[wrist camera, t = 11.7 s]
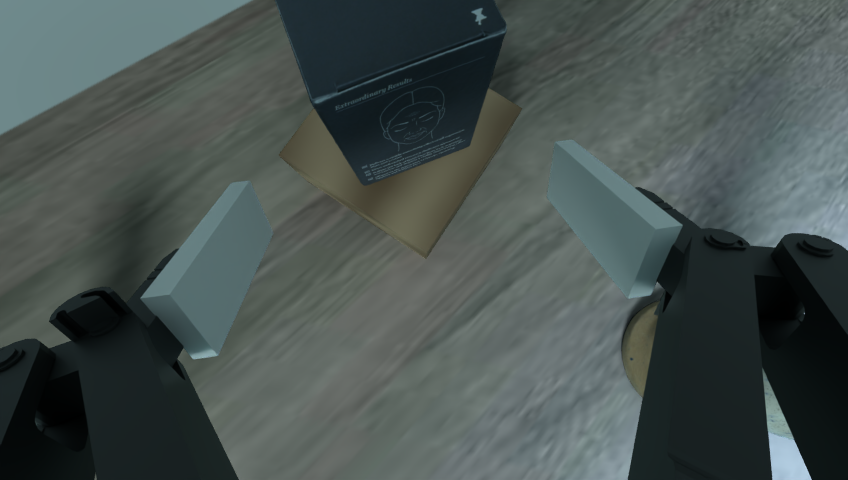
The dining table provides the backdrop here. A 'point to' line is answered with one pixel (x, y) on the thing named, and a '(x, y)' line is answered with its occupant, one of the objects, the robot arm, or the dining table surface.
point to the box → (395, 75)
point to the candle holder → (638, 359)
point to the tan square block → (403, 177)
